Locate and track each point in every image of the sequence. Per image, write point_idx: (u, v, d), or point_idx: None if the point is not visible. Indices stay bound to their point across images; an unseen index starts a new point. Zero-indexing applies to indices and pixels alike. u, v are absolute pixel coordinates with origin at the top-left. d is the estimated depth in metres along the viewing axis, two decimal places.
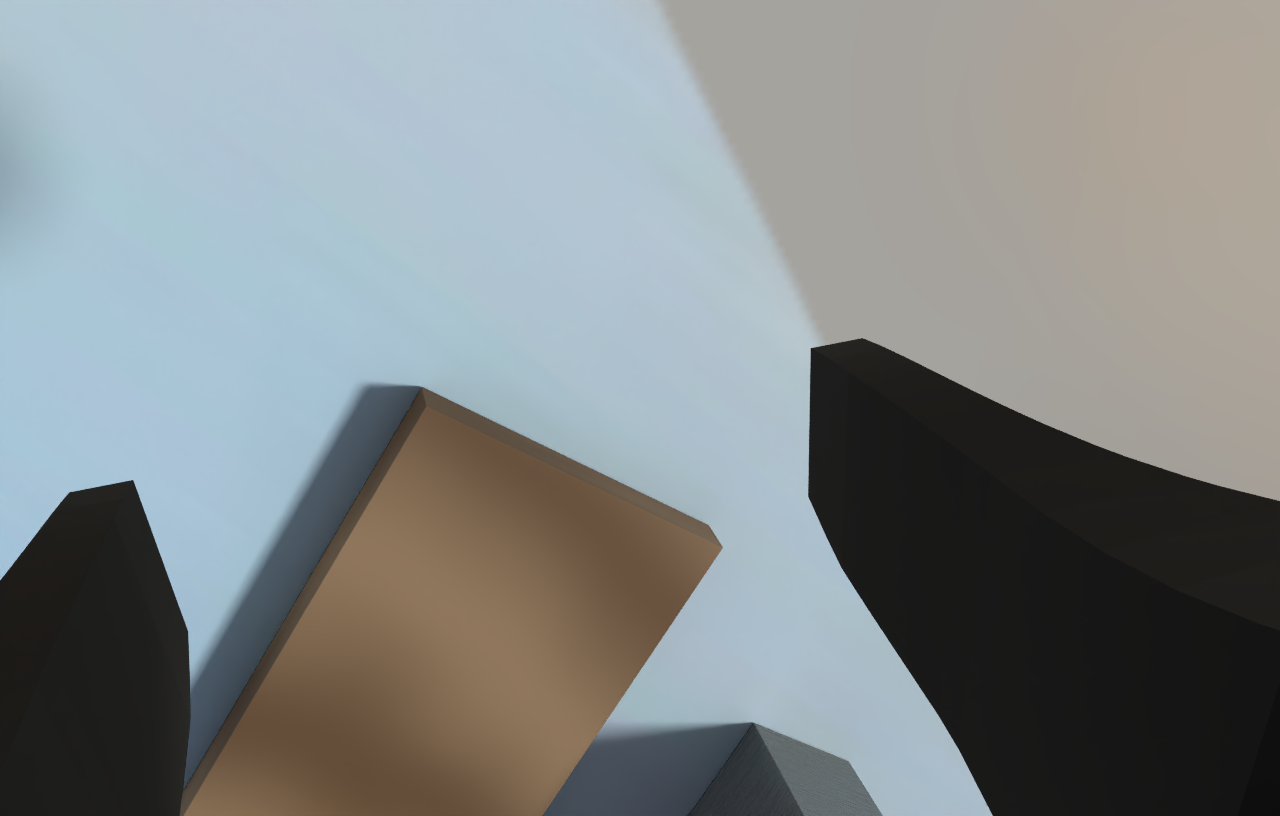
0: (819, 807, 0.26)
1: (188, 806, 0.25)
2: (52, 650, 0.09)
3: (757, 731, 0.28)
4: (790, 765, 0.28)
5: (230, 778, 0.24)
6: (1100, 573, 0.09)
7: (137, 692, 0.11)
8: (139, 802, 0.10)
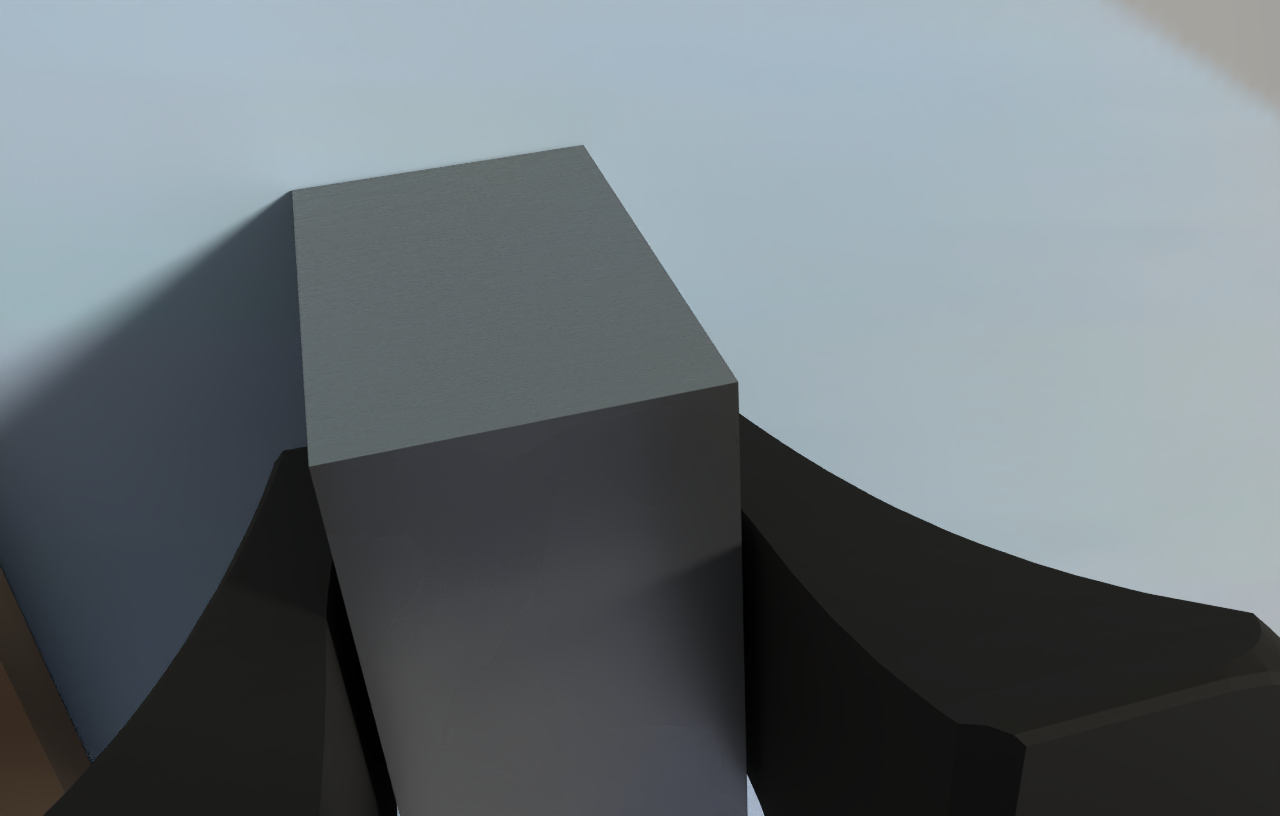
0: (384, 295, 0.10)
1: None
2: (327, 591, 0.09)
3: (293, 203, 0.12)
4: (351, 234, 0.11)
5: None
6: (832, 639, 0.08)
7: None
8: (377, 744, 0.11)
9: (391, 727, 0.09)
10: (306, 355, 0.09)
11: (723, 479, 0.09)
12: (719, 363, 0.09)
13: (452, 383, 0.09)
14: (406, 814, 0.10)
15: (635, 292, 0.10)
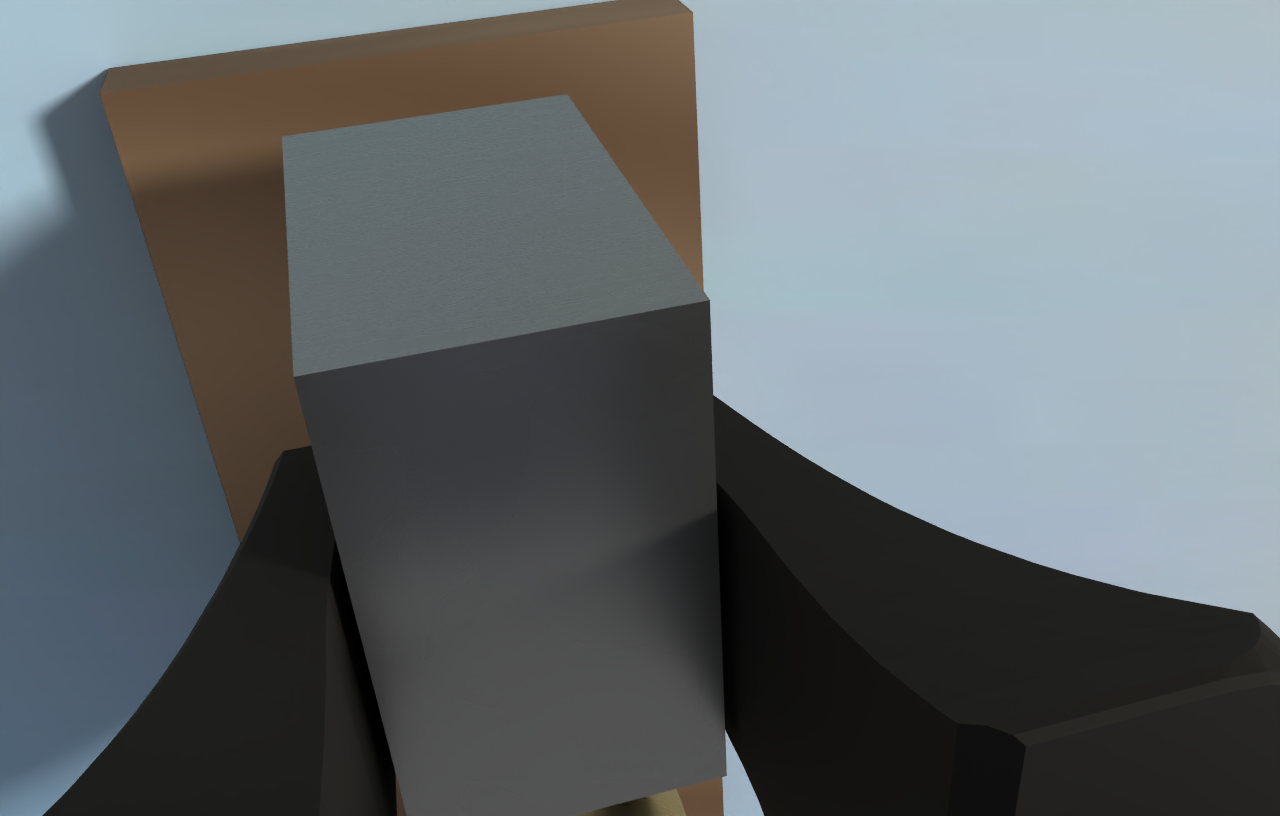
0: (370, 228, 0.10)
1: None
2: (327, 590, 0.09)
3: (283, 148, 0.12)
4: (339, 175, 0.11)
5: None
6: (831, 639, 0.08)
7: None
8: (377, 744, 0.11)
9: (376, 642, 0.10)
10: (293, 280, 0.10)
11: (696, 398, 0.09)
12: (693, 284, 0.09)
13: (433, 304, 0.09)
14: (391, 731, 0.10)
15: (613, 223, 0.10)
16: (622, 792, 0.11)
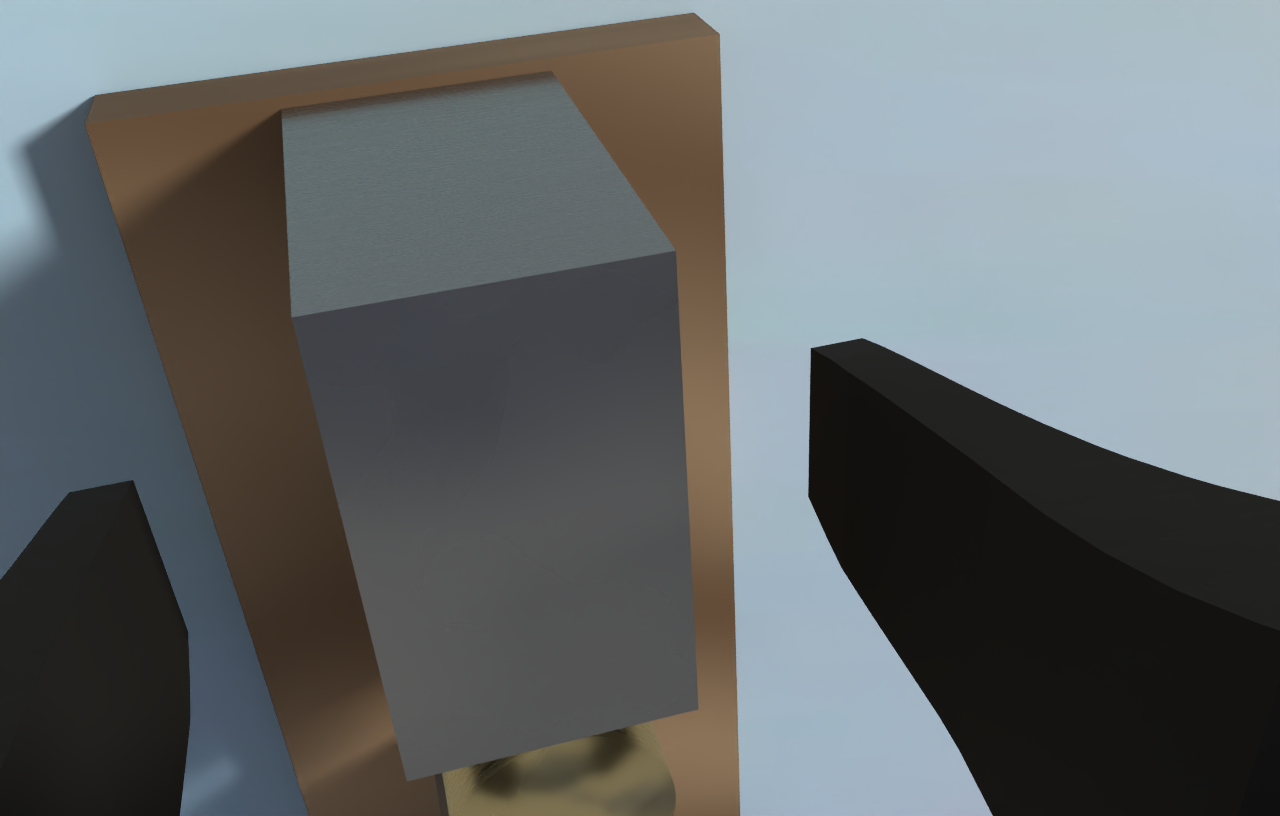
0: (363, 189, 0.11)
1: (291, 757, 0.18)
2: (52, 650, 0.09)
3: (282, 119, 0.13)
4: (334, 142, 0.12)
5: (308, 707, 0.18)
6: (1100, 573, 0.09)
7: (137, 692, 0.11)
8: (139, 802, 0.10)
9: (368, 572, 0.10)
10: (291, 235, 0.10)
11: (665, 343, 0.10)
12: (661, 238, 0.10)
13: (422, 254, 0.10)
14: (382, 659, 0.11)
15: (590, 184, 0.11)
16: (600, 723, 0.12)
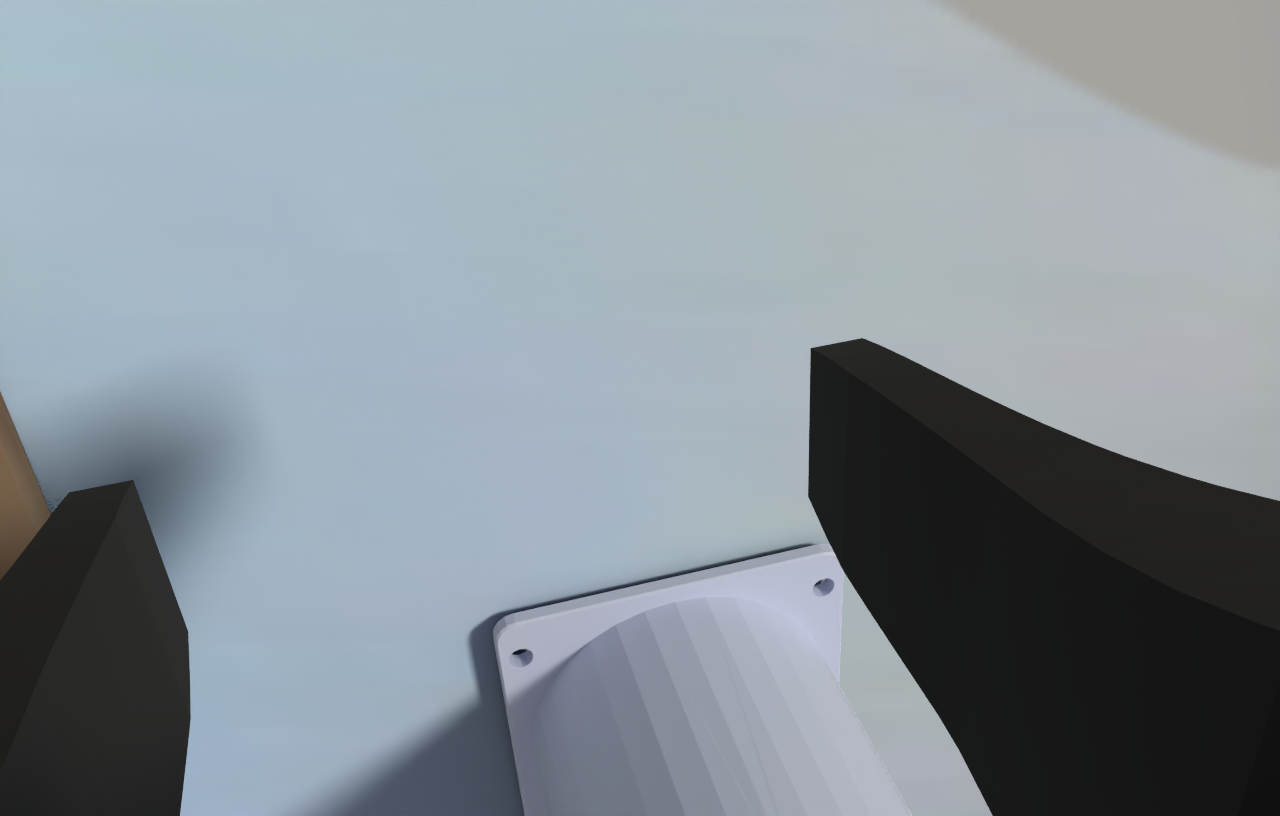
0: None
1: None
2: (52, 650, 0.09)
3: None
4: None
5: None
6: (1100, 573, 0.09)
7: (137, 692, 0.11)
8: (139, 802, 0.10)
9: None
10: None
11: None
12: None
13: None
14: None
15: None
16: None
